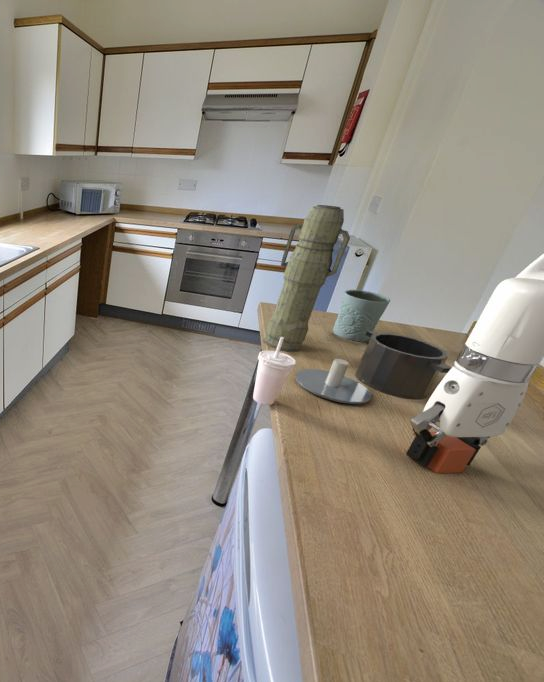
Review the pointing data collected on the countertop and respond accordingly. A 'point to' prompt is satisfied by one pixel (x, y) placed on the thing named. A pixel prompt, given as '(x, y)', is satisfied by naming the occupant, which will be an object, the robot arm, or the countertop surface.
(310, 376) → the lid
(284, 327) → the thermos
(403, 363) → the pot
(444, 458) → the block
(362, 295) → the green embossed cup
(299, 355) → the countertop surface
